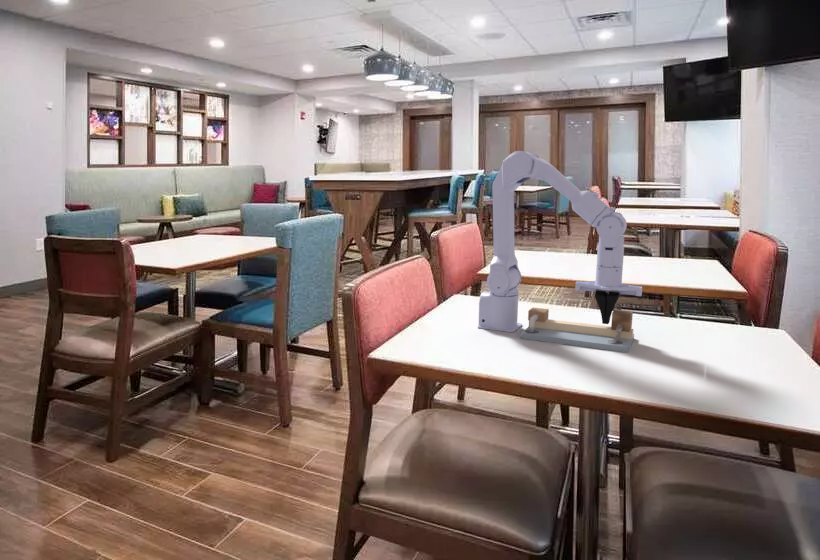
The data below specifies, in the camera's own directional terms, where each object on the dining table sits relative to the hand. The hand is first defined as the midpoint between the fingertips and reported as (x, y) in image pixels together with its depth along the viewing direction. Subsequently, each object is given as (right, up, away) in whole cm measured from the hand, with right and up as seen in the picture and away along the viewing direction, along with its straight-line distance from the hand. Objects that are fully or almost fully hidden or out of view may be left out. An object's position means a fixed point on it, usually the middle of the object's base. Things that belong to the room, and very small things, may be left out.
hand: (605, 323), depth 134 cm
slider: (+2, -3, -3) cm, 5 cm away
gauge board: (-6, -4, +2) cm, 7 cm away
